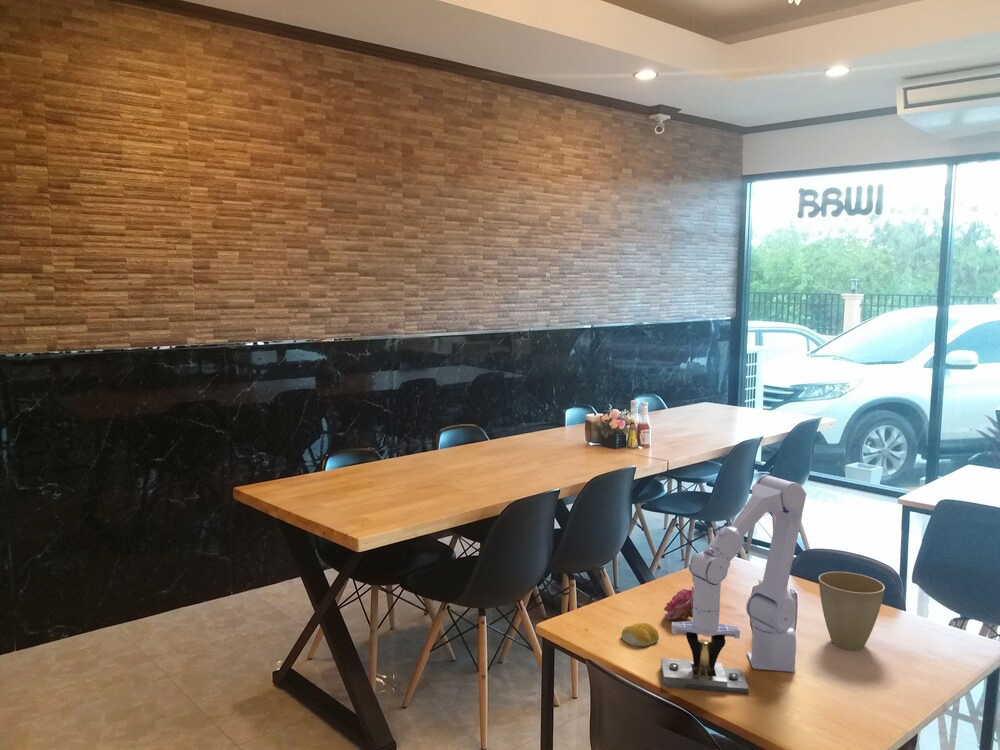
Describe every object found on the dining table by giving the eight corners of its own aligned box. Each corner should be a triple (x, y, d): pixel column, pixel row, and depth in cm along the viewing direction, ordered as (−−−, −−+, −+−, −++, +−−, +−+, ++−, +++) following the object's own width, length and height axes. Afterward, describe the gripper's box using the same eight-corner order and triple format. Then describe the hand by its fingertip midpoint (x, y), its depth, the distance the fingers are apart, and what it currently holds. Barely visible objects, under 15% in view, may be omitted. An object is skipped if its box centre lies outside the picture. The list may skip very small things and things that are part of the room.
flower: (659, 630, 205) (654, 592, 210) (693, 630, 207) (687, 593, 212) (677, 621, 195) (671, 581, 200) (712, 621, 197) (706, 582, 202)
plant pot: (894, 653, 186) (899, 589, 184) (845, 661, 182) (849, 596, 180) (849, 627, 200) (853, 568, 199) (802, 634, 196) (805, 574, 194)
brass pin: (709, 670, 173) (710, 639, 172) (711, 676, 170) (712, 645, 169) (695, 669, 173) (696, 639, 172) (697, 675, 170) (698, 644, 169)
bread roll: (664, 641, 191) (665, 626, 191) (639, 650, 186) (639, 634, 186) (640, 629, 198) (641, 614, 198) (615, 638, 193) (615, 622, 192)
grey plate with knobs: (741, 673, 175) (741, 661, 174) (748, 694, 166) (749, 680, 165) (660, 667, 177) (661, 655, 177) (663, 687, 168) (664, 674, 168)
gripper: (674, 611, 167) (672, 671, 168) (743, 616, 165) (740, 677, 166) (671, 599, 174) (669, 656, 175) (737, 603, 172) (735, 661, 173)
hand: (703, 665), depth 171 cm, fingers closed on brass pin, 3 cm apart
